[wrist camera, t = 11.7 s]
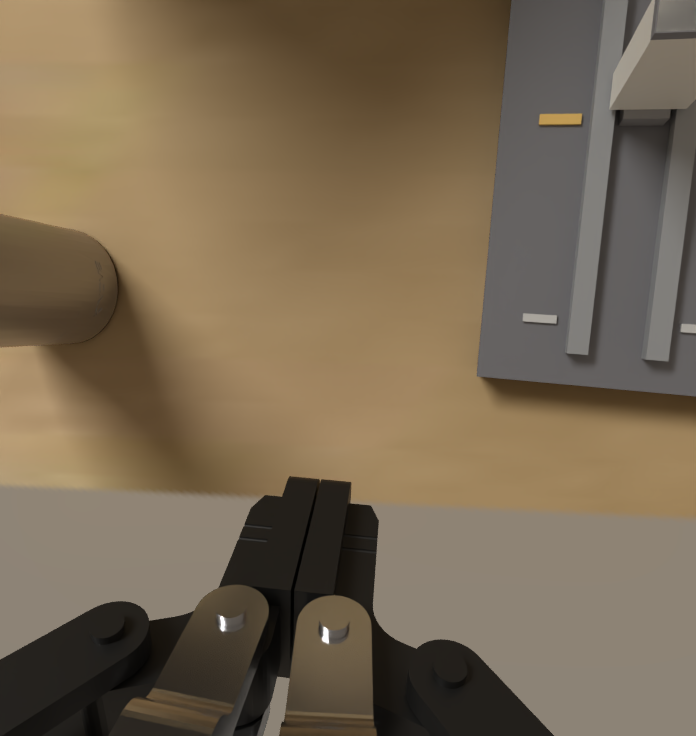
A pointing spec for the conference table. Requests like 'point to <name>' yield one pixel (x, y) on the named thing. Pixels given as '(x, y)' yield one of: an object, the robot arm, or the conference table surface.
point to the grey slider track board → (588, 215)
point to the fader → (657, 65)
